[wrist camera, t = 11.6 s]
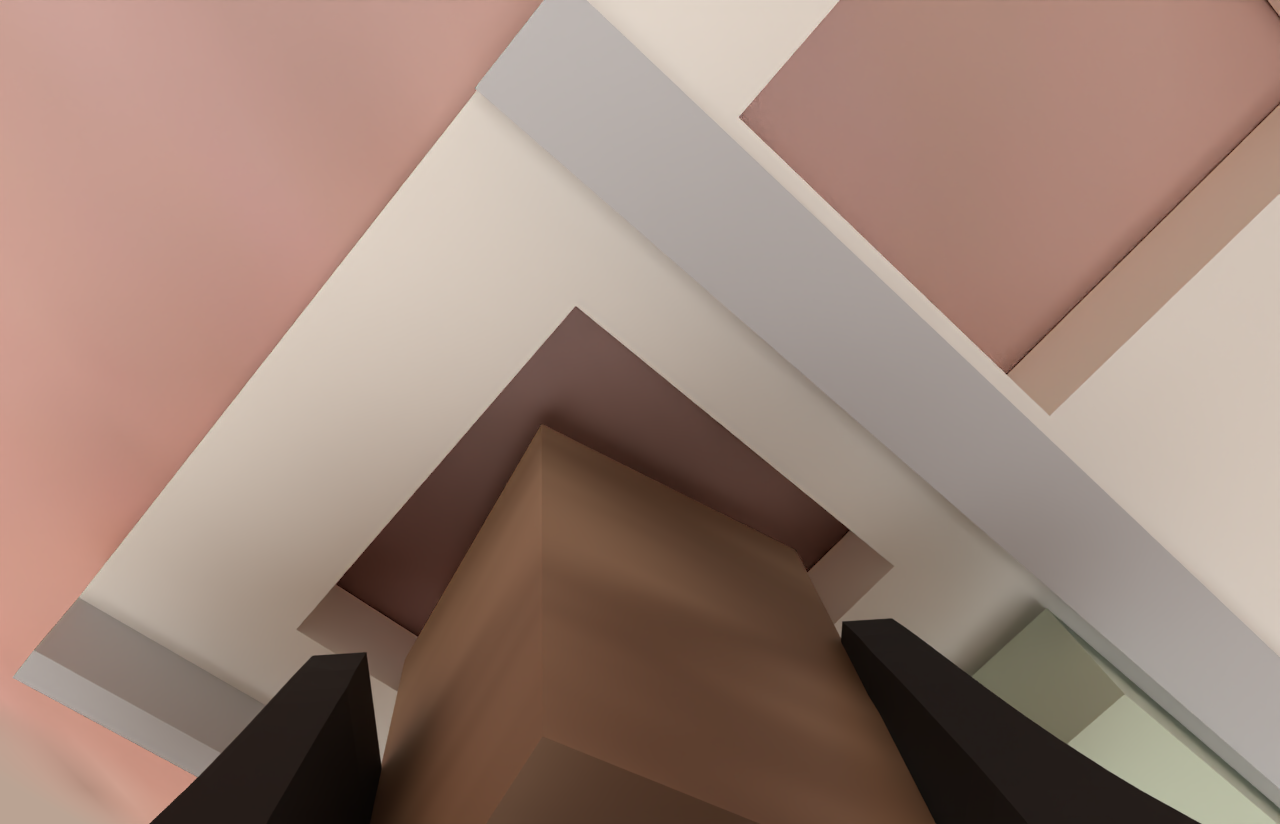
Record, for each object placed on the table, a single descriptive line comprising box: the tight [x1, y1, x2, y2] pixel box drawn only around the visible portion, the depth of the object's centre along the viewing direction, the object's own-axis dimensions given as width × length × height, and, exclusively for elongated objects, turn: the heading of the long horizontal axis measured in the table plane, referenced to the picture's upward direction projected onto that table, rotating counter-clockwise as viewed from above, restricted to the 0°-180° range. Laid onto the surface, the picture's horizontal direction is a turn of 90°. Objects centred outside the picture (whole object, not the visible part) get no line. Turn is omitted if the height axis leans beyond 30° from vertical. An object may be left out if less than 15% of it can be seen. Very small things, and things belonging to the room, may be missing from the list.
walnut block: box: [370, 424, 936, 824], centre depth 10 cm, size 4×4×6 cm
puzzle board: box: [13, 0, 1280, 808], centre depth 14 cm, size 20×19×3 cm
